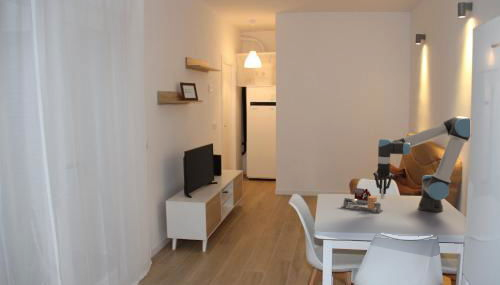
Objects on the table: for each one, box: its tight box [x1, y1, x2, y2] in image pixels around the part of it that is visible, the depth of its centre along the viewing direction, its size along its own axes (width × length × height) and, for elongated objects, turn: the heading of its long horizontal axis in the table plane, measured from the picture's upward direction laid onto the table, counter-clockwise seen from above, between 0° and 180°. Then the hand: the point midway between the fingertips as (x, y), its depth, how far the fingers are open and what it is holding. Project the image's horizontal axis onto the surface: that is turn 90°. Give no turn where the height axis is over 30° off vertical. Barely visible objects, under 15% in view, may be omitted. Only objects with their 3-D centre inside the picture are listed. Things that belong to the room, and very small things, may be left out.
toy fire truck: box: [353, 187, 372, 201], centre depth 309 cm, size 7×12×10 cm, turn 63°
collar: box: [367, 195, 378, 209], centre depth 287 cm, size 4×6×7 cm
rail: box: [340, 197, 384, 215], centre depth 291 cm, size 26×8×6 cm, turn 55°
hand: (382, 198), depth 283 cm, fingers closed
